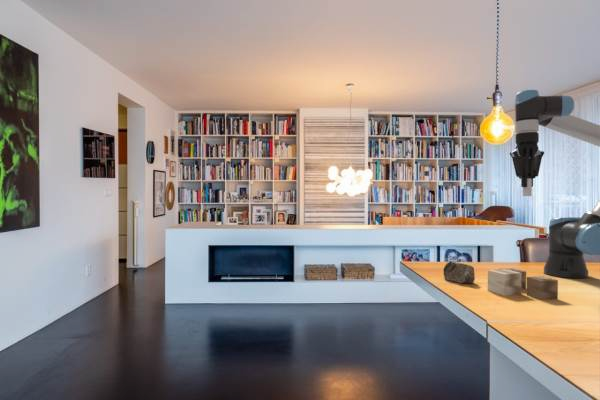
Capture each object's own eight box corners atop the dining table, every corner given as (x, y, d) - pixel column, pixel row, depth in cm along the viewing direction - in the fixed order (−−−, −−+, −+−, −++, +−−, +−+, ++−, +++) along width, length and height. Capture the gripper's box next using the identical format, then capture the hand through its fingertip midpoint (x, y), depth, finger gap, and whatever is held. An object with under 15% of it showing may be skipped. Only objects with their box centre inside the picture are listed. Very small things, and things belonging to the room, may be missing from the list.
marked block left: (543, 294, 130) (543, 275, 130) (557, 299, 124) (557, 279, 124) (526, 295, 130) (526, 276, 129) (540, 300, 124) (540, 280, 123)
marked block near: (514, 284, 144) (514, 267, 144) (526, 288, 138) (526, 270, 138) (498, 285, 143) (499, 268, 143) (510, 289, 137) (510, 271, 137)
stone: (467, 284, 143) (468, 265, 143) (439, 279, 153) (440, 260, 153) (479, 283, 147) (480, 264, 147) (451, 277, 157) (451, 259, 157)
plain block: (504, 289, 137) (504, 269, 137) (521, 294, 131) (521, 273, 130) (487, 290, 135) (487, 270, 135) (504, 296, 128) (504, 274, 128)
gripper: (534, 134, 155) (535, 195, 155) (504, 134, 152) (504, 196, 153) (550, 131, 147) (550, 195, 147) (518, 131, 145) (518, 196, 145)
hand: (527, 196), depth 150 cm, fingers closed
